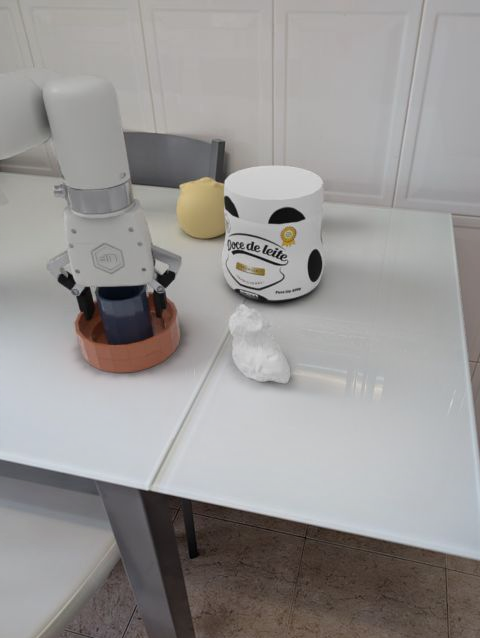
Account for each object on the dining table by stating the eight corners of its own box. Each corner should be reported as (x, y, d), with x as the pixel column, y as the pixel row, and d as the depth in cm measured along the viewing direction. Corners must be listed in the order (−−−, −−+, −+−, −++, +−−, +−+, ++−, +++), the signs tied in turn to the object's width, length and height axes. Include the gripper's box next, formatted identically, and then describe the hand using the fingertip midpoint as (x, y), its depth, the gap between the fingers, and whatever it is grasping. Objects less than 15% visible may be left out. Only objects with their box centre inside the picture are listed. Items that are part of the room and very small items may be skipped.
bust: (238, 358, 74) (188, 322, 66) (273, 321, 73) (228, 280, 65) (278, 408, 65) (227, 374, 57) (318, 368, 65) (272, 327, 57)
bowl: (72, 378, 67) (63, 349, 64) (94, 319, 78) (87, 292, 75) (176, 373, 68) (172, 344, 65) (183, 316, 79) (180, 289, 76)
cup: (104, 356, 70) (90, 302, 64) (112, 328, 75) (100, 276, 69) (152, 354, 70) (143, 301, 64) (157, 327, 75) (149, 275, 70)
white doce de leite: (228, 316, 79) (222, 206, 68) (219, 264, 92) (212, 166, 81) (334, 306, 81) (345, 198, 70) (309, 257, 94) (315, 160, 83)
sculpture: (240, 222, 107) (238, 171, 100) (227, 246, 98) (224, 193, 91) (189, 218, 109) (184, 168, 102) (171, 242, 99) (165, 189, 93)
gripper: (16, 208, 56) (55, 331, 66) (171, 204, 56) (185, 327, 67) (36, 184, 61) (69, 301, 72) (176, 181, 62) (189, 297, 73)
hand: (125, 313), depth 69 cm, fingers open, 9 cm apart
